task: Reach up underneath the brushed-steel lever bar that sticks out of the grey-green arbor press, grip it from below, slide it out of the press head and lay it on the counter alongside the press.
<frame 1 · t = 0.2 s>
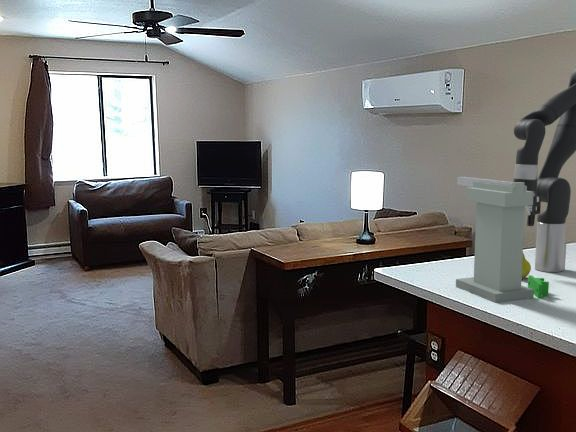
hand: (521, 224, 203), 17 cm above the worktop, tool pointing down, fingers open, 8 cm apart
lever bar: (485, 187, 182), point 32 cm above the worktop, touching press
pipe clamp: (538, 294, 180), on the worktop
press: (492, 291, 182), on the worktop
fruit: (519, 278, 199), on the worktop
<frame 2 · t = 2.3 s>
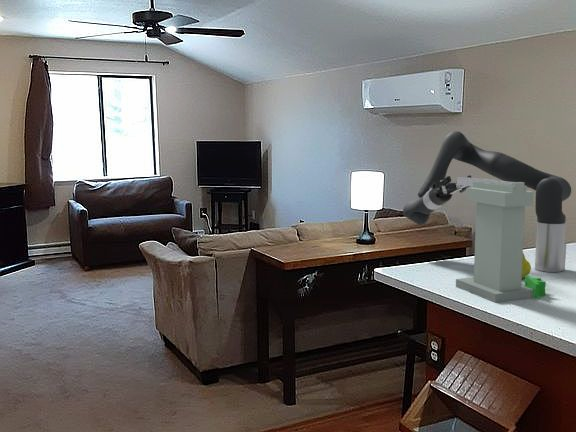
hand: (460, 178, 204), 33 cm above the worktop, tool pointing upward, fingers open, 8 cm apart
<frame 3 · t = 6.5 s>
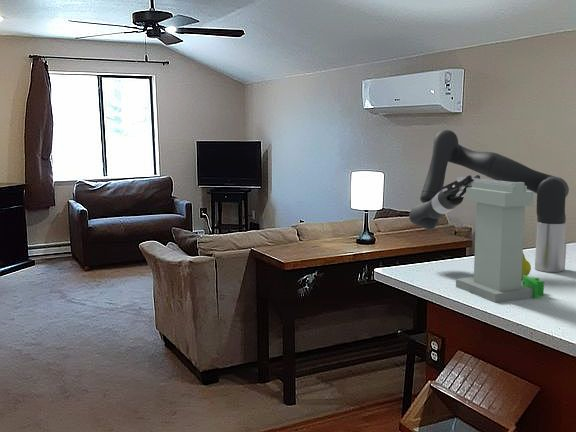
hand: (475, 177, 187), 35 cm above the worktop, tool pointing upward, fingers closed on lever bar, 2 cm apart
lever bar: (485, 187, 182), point 32 cm above the worktop, touching gripper, press
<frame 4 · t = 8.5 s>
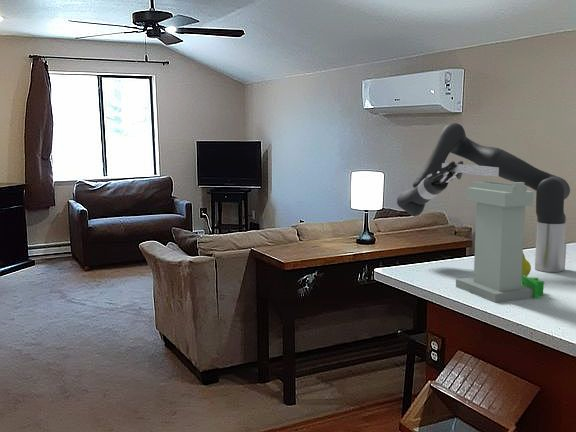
hand: (458, 163, 195), 39 cm above the worktop, tool pointing upward, fingers closed on lever bar, 2 cm apart
lever bar: (468, 173, 190), point 36 cm above the worktop, touching gripper
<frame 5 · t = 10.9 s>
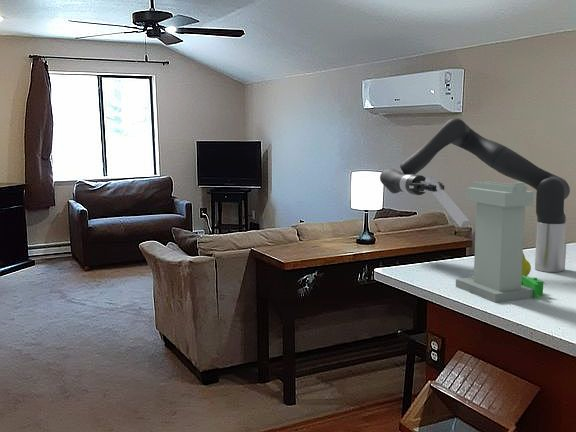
hand: (439, 188, 206), 30 cm above the worktop, tool horizontal, fingers closed on lever bar, 2 cm apart
lever bar: (444, 204, 204), point 25 cm above the worktop, tilted 30°, touching gripper
when the fingers open (12 cm above the worktop, at t = 13.8 s): lever bar drops 7 cm, on the worktop.
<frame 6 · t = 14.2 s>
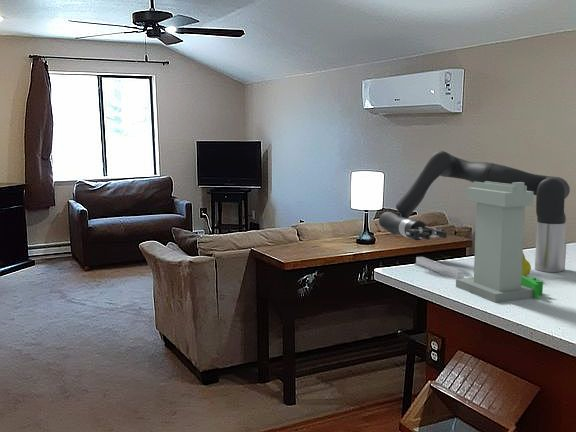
hand: (437, 236, 209), 13 cm above the worktop, tool horizontal, fingers open, 6 cm apart
lever bar: (438, 271, 209), on the worktop
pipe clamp: (532, 294, 180), on the worktop, touching press
everything else where it was.
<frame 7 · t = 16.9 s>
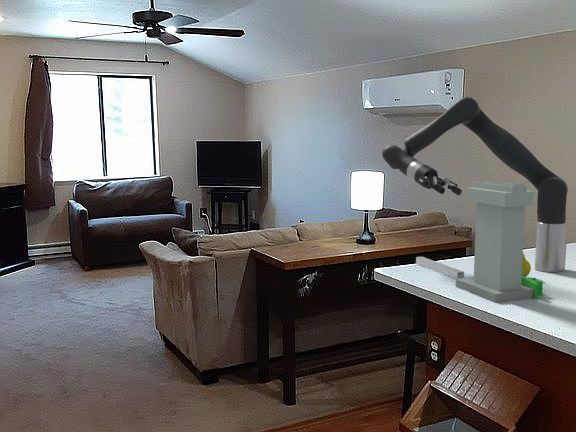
hand: (452, 192, 202), 29 cm above the worktop, tool tilted 70°, fingers open, 8 cm apart
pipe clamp: (531, 294, 180), on the worktop
everything else where it was.
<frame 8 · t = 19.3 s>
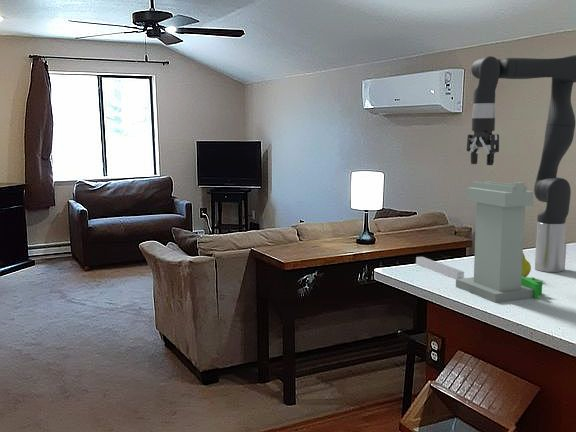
hand: (481, 164, 202), 38 cm above the worktop, tool pointing down, fingers open, 8 cm apart
nothing on the worktop moved.
at the end: lever bar inside the target area (1.3 cm from its centre), on the worktop; lever bar moved 40.1 cm from its start; the gripper is holding nothing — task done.
